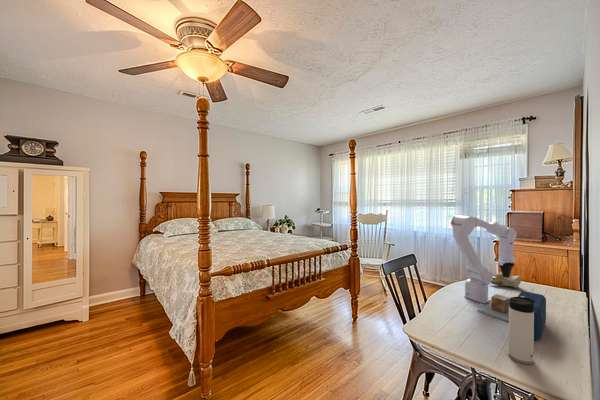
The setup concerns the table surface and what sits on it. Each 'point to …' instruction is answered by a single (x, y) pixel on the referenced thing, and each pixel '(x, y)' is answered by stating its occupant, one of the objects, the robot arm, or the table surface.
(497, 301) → the walnut block
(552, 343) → the table surface
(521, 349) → the travel mug
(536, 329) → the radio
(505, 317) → the board
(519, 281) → the ceramic sculpture
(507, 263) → the robot arm
